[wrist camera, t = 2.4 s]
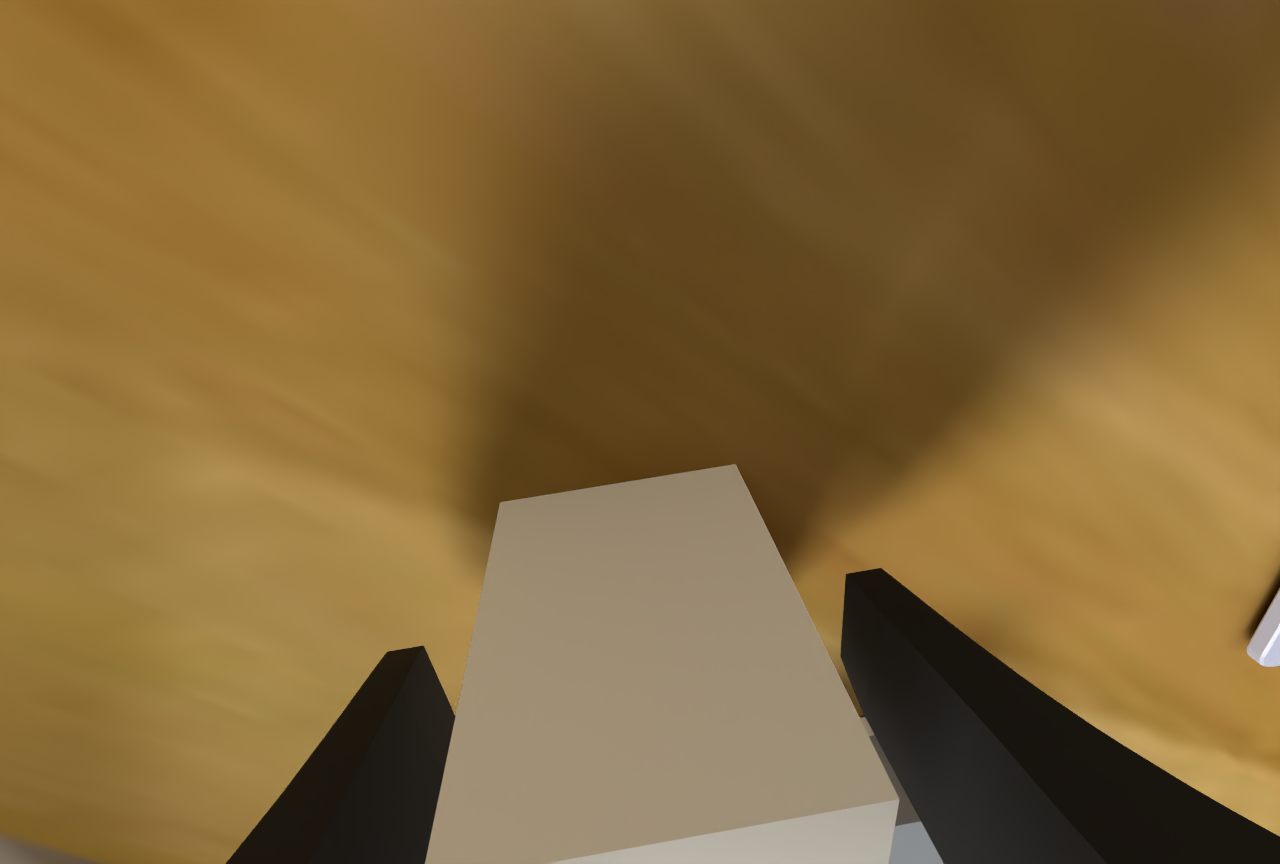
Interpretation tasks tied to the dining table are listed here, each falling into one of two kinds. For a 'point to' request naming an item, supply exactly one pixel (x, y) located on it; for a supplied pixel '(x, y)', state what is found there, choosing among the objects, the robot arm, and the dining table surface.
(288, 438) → the dining table surface
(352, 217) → the dining table surface
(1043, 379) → the dining table surface
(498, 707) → the block
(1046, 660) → the dining table surface
